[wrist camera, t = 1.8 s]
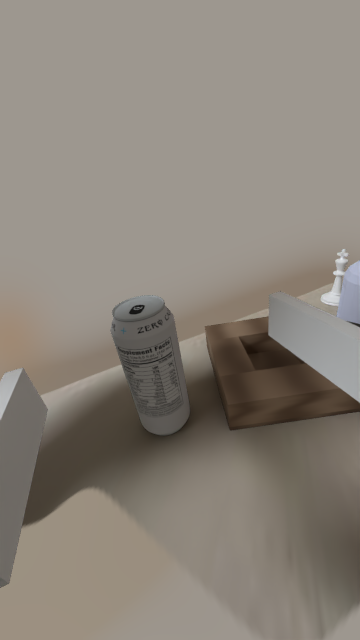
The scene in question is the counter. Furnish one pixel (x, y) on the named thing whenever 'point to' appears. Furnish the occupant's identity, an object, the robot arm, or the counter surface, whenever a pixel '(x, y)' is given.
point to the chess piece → (336, 281)
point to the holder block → (268, 378)
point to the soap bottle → (350, 295)
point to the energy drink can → (152, 362)
